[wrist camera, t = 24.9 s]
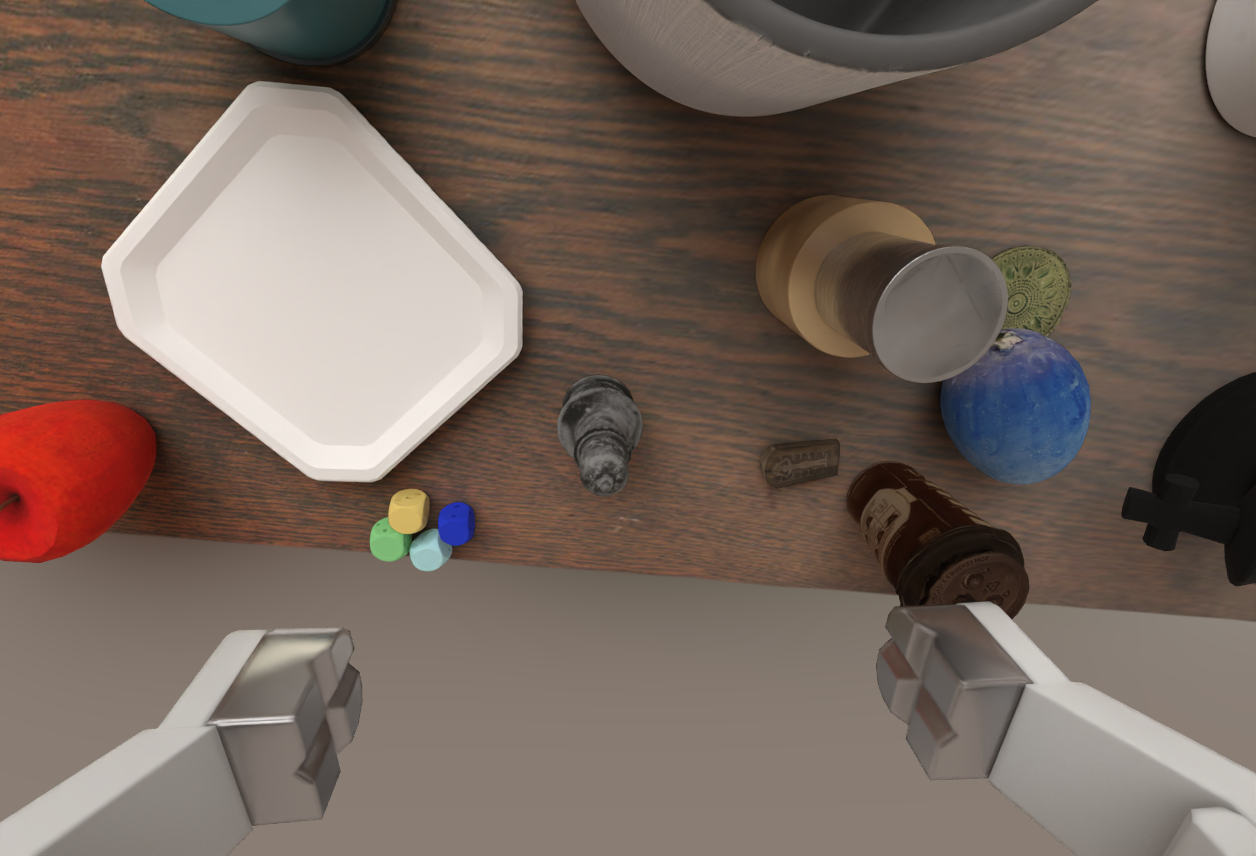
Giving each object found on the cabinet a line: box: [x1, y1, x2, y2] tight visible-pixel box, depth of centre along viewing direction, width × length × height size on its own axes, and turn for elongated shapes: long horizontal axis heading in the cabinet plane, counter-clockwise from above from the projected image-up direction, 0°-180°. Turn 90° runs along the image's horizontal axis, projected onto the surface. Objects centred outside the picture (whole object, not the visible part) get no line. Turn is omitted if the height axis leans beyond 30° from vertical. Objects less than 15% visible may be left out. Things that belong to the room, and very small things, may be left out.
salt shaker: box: [557, 375, 643, 496], centre depth 39 cm, size 6×6×12 cm
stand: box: [755, 195, 936, 357], centre depth 38 cm, size 9×9×7 cm
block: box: [760, 439, 840, 489], centre depth 47 cm, size 4×6×2 cm, turn 94°
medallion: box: [991, 246, 1071, 337], centre depth 43 cm, size 8×8×1 cm
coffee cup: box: [847, 461, 1029, 620], centre depth 44 cm, size 9×8×13 cm
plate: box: [101, 81, 523, 482], centre depth 38 cm, size 21×21×2 cm
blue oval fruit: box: [940, 328, 1091, 485], centre depth 41 cm, size 9×9×15 cm
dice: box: [370, 489, 475, 571], centre depth 46 cm, size 8×3×6 cm
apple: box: [0, 400, 156, 563], centre depth 37 cm, size 9×9×11 cm
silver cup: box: [814, 232, 1008, 383], centre depth 31 cm, size 6×6×8 cm
